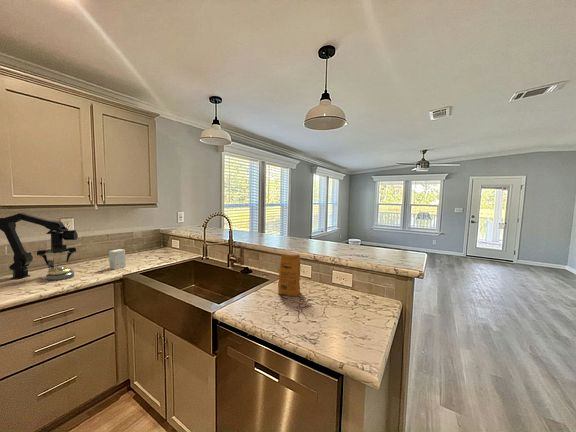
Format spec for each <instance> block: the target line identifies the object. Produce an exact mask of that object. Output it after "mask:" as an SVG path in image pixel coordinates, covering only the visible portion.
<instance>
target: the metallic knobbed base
mask: <svg viewBox="0 0 576 432" xmlns="http://www.w3.org/2000/svg"><path fill="white" fill-rule="evenodd" d="M47 261H48V265H47V268H48V271H47V274H48V275H51V276H54V275H63V274H67V273H70V272H72V271H73V270H72V269H73V268H72V267H70V266H69V267H68V266H67V267H66V266H65V265H62V266H61V267H59V266H55V260H54V259H47Z"/></svg>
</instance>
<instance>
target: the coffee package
mask: <svg viewBox="0 0 576 432" xmlns="http://www.w3.org/2000/svg"><path fill="white" fill-rule="evenodd" d="M278 273H279V274H278V281H277V283H278V284H277V285H278V287H277V289H278V291H277V294H278V295H284V296H287V297H297V296H299V294H300V293H301V283H300V280H301V255H300V254H291V255H290V254H286V253H281V255H280V264H279V271H278Z"/></svg>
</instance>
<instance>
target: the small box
mask: <svg viewBox="0 0 576 432" xmlns="http://www.w3.org/2000/svg"><path fill="white" fill-rule="evenodd" d="M108 258H109V259H108V261H109V269H112V270H117V269H122V268H126V267H127V266H126V265H127V263H126V262H127V261H126V249H121V248H119V249H114V250H109V251H108Z"/></svg>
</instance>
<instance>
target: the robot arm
mask: <svg viewBox="0 0 576 432" xmlns="http://www.w3.org/2000/svg"><path fill="white" fill-rule="evenodd" d="M20 221H25V222H27V223H31V224H35V225H39V226H42V227H44V228H45V229H48V232H46V235H50V249H48V250H47V249H46V248H44V249H37V250H36V255H37V256H39V257H42V259H43V260H44V262H45V264H46V266H48V258H47V254H50V253H52V254H61V253H63V252H66V253H67V254H66V260H65V261H66V263H68V262H69V259H70V257H71V256H72V255H73V254H74V253H76V252H77V248H76V246H67V244H64V241H77V239H78V236H79V235H78V232H77V230H76V229H72V230H71V229H68V228H67V227H66V226H65V225H64V222H63V221H59V220H51V219H49V220H48V219H45V218H41V217H38V216H35V215H31V214H28V213H25V212H20V213H16V214H14V215H10V216H7V217H5V216H4V217H0V231H2V232H3V233H4V235H5V237H6V239H7V242H8V244H9V246H10V248H11V250H12V252H13V263H12V264H10V265H9V266H8V269H9V270H10V271H12V276H11V277H10V279H11V280H12V279H14V280H17V279H18V280H20V279H23V278H27V277H30V276H31V274H29V269H28V267H29V266H30V264H32V262H33V260H34V259H33V258H34V257H33V255H32V252H31V251H29V252H28V251H26V250H25V247H24V246H23V243H22V242H21V240H20V237H19V236H18V235H19V234H17V230H16V227H17V223H19V222H20Z"/></svg>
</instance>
